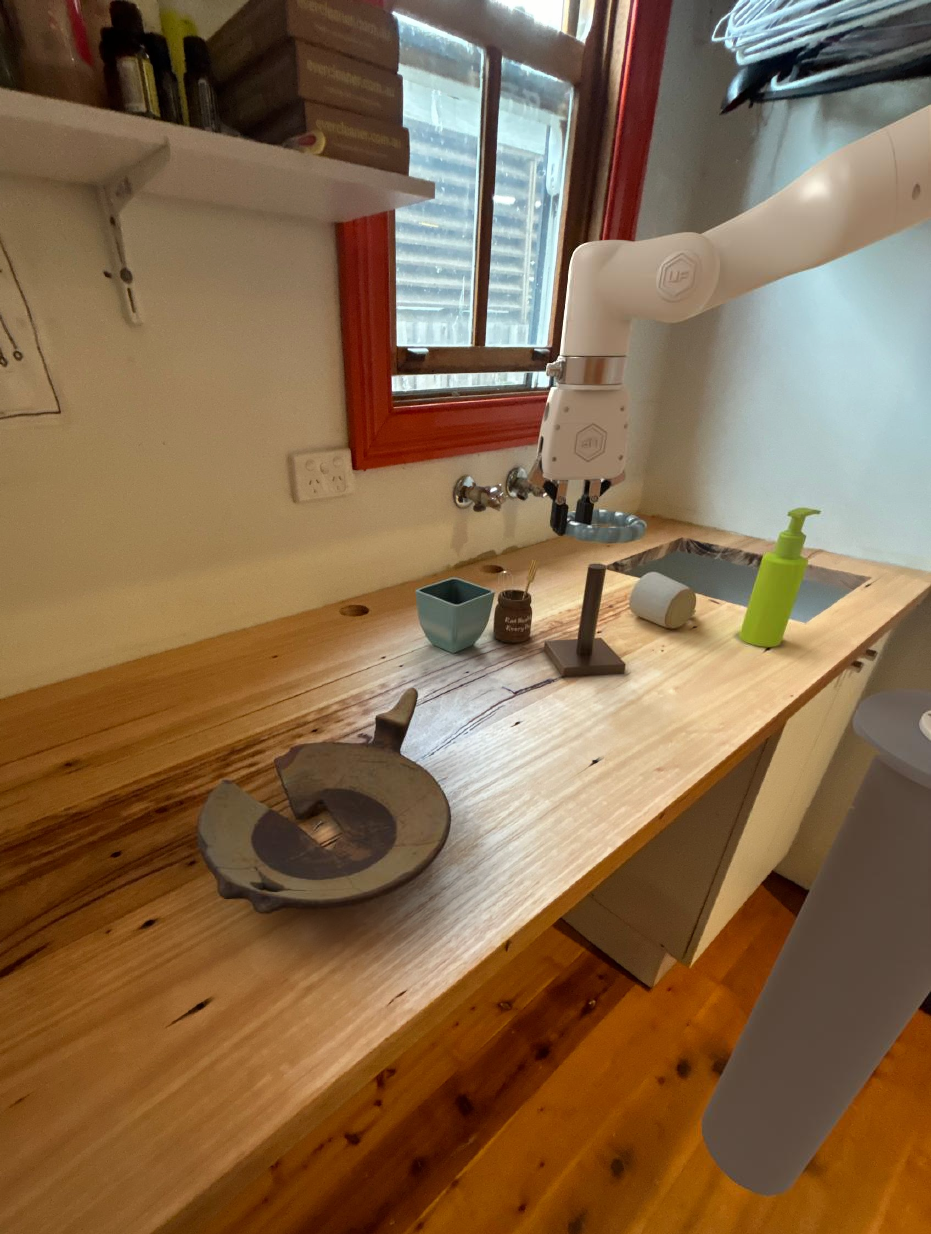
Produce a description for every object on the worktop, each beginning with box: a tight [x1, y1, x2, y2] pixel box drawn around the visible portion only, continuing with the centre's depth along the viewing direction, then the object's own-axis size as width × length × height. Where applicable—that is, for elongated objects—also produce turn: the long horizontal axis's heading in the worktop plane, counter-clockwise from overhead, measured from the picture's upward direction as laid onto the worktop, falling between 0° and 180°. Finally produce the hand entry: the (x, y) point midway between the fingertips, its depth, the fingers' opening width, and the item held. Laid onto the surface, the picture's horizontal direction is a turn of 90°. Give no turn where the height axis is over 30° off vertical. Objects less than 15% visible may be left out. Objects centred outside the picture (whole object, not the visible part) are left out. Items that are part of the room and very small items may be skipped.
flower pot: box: [415, 577, 496, 654], centre depth 93 cm, size 9×9×9 cm
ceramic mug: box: [628, 571, 697, 629], centre depth 101 cm, size 11×8×8 cm
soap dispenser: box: [738, 507, 822, 648], centre depth 91 cm, size 6×7×20 cm
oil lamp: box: [196, 687, 452, 915], centre depth 57 cm, size 22×30×8 cm
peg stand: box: [543, 562, 626, 678], centre depth 87 cm, size 9×9×14 cm
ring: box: [565, 508, 648, 545], centre depth 80 cm, size 11×11×2 cm
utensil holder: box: [492, 559, 540, 644], centre depth 95 cm, size 6×6×12 cm
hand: (569, 531), depth 80 cm, fingers closed on ring, 2 cm apart
